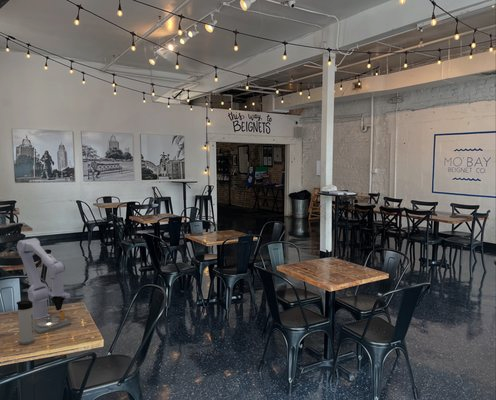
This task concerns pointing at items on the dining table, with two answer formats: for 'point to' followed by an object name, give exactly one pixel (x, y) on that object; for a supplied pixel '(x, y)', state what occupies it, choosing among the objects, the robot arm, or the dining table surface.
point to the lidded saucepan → (52, 320)
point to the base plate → (50, 327)
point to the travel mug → (25, 322)
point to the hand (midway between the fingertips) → (58, 309)
